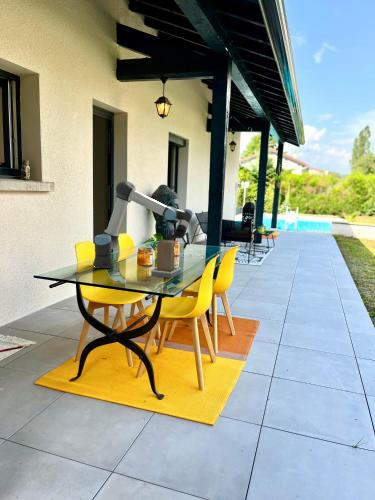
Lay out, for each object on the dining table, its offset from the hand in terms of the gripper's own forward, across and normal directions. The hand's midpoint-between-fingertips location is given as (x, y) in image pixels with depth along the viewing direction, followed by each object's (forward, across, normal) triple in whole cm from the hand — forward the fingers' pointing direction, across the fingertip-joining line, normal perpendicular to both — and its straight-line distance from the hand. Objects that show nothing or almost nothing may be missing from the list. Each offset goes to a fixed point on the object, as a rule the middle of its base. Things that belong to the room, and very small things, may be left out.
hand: (172, 251), depth 263 cm
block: (+15, 0, -2) cm, 15 cm away
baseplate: (+17, 0, -4) cm, 18 cm away
